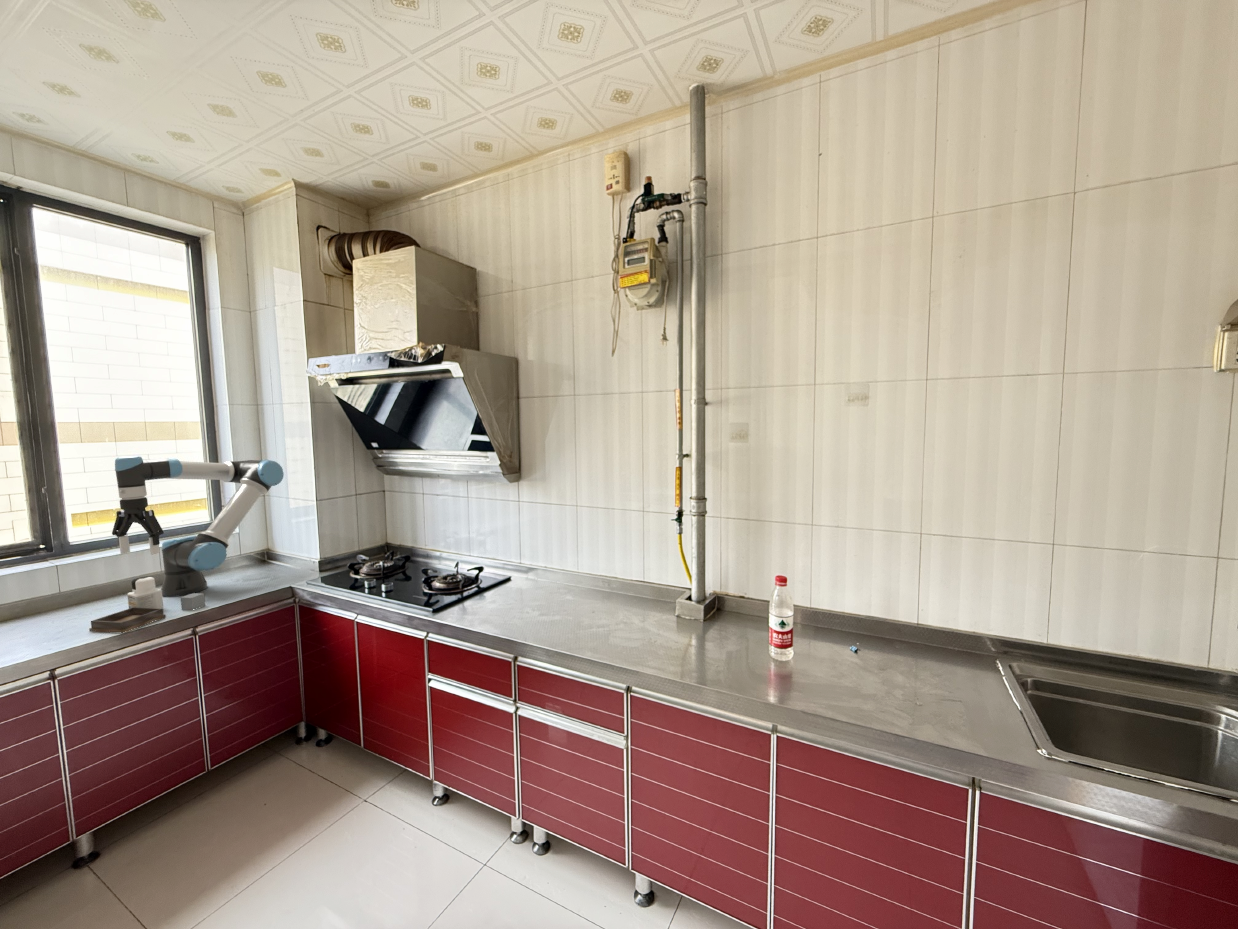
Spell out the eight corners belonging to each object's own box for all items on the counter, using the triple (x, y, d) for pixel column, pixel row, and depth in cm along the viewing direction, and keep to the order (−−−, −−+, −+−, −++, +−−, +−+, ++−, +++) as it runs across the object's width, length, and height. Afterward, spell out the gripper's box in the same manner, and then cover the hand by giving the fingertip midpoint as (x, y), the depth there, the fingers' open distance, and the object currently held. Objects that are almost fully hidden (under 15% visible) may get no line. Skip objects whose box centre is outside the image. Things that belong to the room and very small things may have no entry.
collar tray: (134, 616, 190) (133, 606, 190) (165, 617, 188) (164, 608, 187) (89, 631, 176) (88, 621, 176) (122, 633, 174) (121, 623, 173)
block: (194, 605, 200) (193, 593, 200) (205, 606, 199) (204, 593, 199) (181, 610, 195) (180, 597, 195) (192, 610, 194) (191, 598, 194)
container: (128, 613, 193) (125, 579, 192) (154, 606, 200) (151, 573, 199) (138, 616, 190) (134, 582, 189) (164, 609, 197) (160, 576, 196)
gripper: (94, 499, 189) (101, 555, 191) (150, 499, 185) (157, 556, 187) (117, 496, 196) (124, 550, 199) (171, 496, 192) (178, 551, 195)
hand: (140, 553), depth 193 cm, fingers open, 13 cm apart
